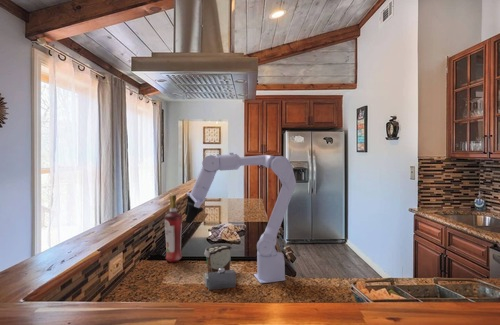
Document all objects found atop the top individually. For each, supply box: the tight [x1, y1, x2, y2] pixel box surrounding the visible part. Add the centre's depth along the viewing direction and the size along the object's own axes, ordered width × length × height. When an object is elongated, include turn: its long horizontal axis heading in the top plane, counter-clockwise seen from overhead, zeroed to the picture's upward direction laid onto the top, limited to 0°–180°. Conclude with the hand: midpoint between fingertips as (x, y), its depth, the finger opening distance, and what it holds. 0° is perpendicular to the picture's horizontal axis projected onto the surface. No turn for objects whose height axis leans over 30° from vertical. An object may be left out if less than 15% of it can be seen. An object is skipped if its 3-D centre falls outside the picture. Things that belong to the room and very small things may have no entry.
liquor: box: [164, 194, 183, 263], centre depth 124 cm, size 7×7×28 cm
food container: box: [204, 243, 233, 273], centre depth 110 cm, size 12×6×10 cm, turn 141°
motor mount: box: [203, 268, 237, 291], centre depth 100 cm, size 10×7×6 cm
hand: (187, 218), depth 109 cm, fingers open, 7 cm apart
